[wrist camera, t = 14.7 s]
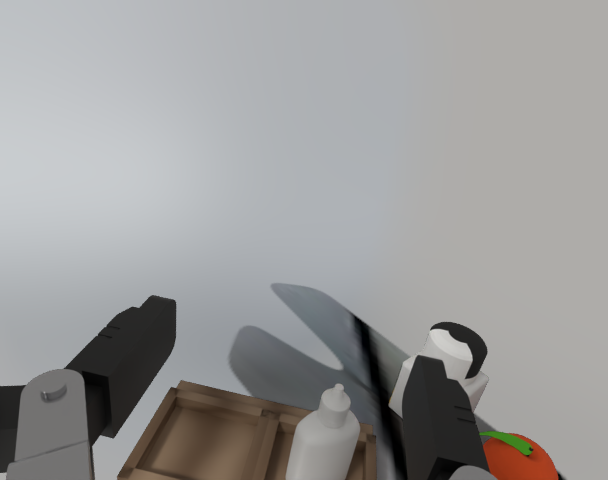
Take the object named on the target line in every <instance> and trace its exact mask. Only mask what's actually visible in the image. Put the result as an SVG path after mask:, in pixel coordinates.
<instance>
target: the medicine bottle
mask: <svg viewBox="0 0 608 480" xmlns="http://www.w3.org/2000/svg"><path fill="white" fill-rule="evenodd" d="M417 355H422V356H427V357H431V358H436V359H440V360H442V361H443V362H444V366H445V370H446V374H447V378H449V379H453V380H457V381H458V382H459V383H460V385H461V386H462V387H463V389H464V390H465V392H466V393H467V394H468V397H469V400H470V404H471V407H472V413H473V412H474V410H475V408H476V406H477V404H478V402H479V400H480V397H481V395H482V393H483V391H484V389H485V387H486V385H487V383H488V381H489V378H488V377H487V376H486V375H485V374H483V373H482V372H481V371H480V368H481V366H482V364H483V362H484V360H485V358H486V355H487V347H486V345H485V343H484V341H483V339H482V338H481V337H480V336H479V335H478V334H477V333H475V332H474V331H472V330H471V329H469V328H467V327H465V326H463V325H460V324H457V323H452V322H441V323H438V324H435V325H434V326H432V328H431V329H430V332H429V335H428V337H427V340H426V343H425V346H424V348H423V350H422V351H420V352H419V353H417V354H415V355H414V356H412V357H410V358H409V359H407V360H406V361H404V362H403V363H402V366H401V369H400V372H399V375H398V378H397V381H396V384H395V387H394V390H393V392H392V395H391V398H390V401H389V407H390V408H391V409H392V410H393V411H394V412H396V413H397V414H398V415H399V416H400V417H401V418H402V419H403V417H402V398H403V393H404V389H405V386H406V383H407V380H408V378H409V375H410V372H411V369H412V367H413V364H414V361H415V358H416V357H417Z"/></svg>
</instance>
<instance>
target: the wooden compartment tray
mask: <svg viewBox="0 0 608 480" xmlns="http://www.w3.org/2000/svg"><path fill="white" fill-rule="evenodd" d="M312 412H313V411H309V410H305V409H301V408H296V407H292V406H288V405H284V404H280V403H275V402H271V401H267V400H263V399H258V398H254V397H250V396H246V395H241V394H237V393H233V392H229V391H224V390H220V389H216V388H212V387H208V386H203V385H199V384H195V383H191V382H186V381H182V380H181V381H180V383H179V384H178V386H177V388H173V387H171V388H170V390H169V391H168V393H167V395H166V396H165V398H164V400H163V401H162V403H161V405H160V406H159V408H158V410H157V411H156V413H155V414H154V416H153V418H152V419H151V421H150V423H149V424H148V426H147V428H146V429H145V431H144V433H143V434H142V436H141V438H140V439H139V441H138V443H137V444H136V446H135V448H134V449H133V451H132V453H131V454H130V456H129V457H128V459H127V461H126V462H125V464H124V466H123V467H122V469H121V471H120V472H119V474H118V476H117V480H286V477H285V476H286V471H287V466H288V461H289V457H290V452H291V447H292V443H293V438H294V434H295V430H296V427H297V425H298V423H299V422H300V421H301V420H302V419H303V418H305V417H306V416H307V415H309V414H310V413H312ZM359 425H360V433H359V437H358V440H357V443H356V447H355V450H354V453H353V457H352V460H351V463H350V466H349V469H348V473H347V476H346V479H345V480H377V474H376V436H375V435H373V425H368V424H364V423H360V422H359Z"/></svg>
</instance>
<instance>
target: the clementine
mask: <svg viewBox="0 0 608 480" xmlns="http://www.w3.org/2000/svg"><path fill="white" fill-rule="evenodd" d="M479 435H487V436H491V437H492V438H490V439H489V440H487V441H486V443H485V444H484V445H483V449H484V452H485V456H486V459H487V463H488V466H489V470H490V473H491V474H492V475H493V476H494V477H495V478H497V479H498V480H558V474H557V471H556V469H555V466H554V464H553V462H552V460H551V458H550V457H549V455H548V454H547V453H546V452H545V451H544V449H542V448H541V447H540V446H539V445H538V444H537V443H535V442H533V441H532V440H531V439H528V438H526V437H524V436H522V435H518V434H512V433H503V432H495V431H487V432H482V433H479Z"/></svg>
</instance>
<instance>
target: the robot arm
mask: <svg viewBox="0 0 608 480" xmlns="http://www.w3.org/2000/svg"><path fill="white" fill-rule="evenodd" d="M175 339H176V302H175V300H173V299H168V298H163V297H159V296H154V295H152V296H150V297H149V298H148V299H147V300H146V301H145V302H144V303H143V304H142V306H141V307H140V308H136V307H131V308H129V309H127V310H125V311H123V312H121V313H119V314H118V315H116V316H115V317H114V318H113V319H112V320H111V321H110V322H109V323H108V324H107V327H105V328H104V329H102V330H101V332H100V333H99V334H98V336H96V337H95V338H94V339H93V340H92V341H91V342H90V343H89V344H88V345H87V346H86V347H85V348H84V349H83V350H82V351H81V352H80V353H79V354H78V355H77V356H76V357H75V358H74V359H73V360H72V361H71V362H70V363H69V364H68V365H67V366H66V367H65V368H64V369H58V370H52V371H49V372H46V373H43V374H42V375H39V376H37V377H36V378H34V379H33V380H31V381H30V382H29V383H28V384H27V385H23V386H0V473H5V472H7V476H6V480H95V474H94V462H93V449H92V446H93V444H94V443H95V441H96V440H97V439H98V437H99V436H100V435H102V436H106V437H110V438H114V437H115V436H116V434H117V433H118V431H119V430H120V428H121V427H122V425H123V424H124V422H125V421H126V419H127V418H128V417H129V415H130V414H131V412H132V411H133V409H134V408H135V406H136V405H137V403H138V401H139V400H140V399H141V397H142V396H143V394H144V393H145V391H146V390H147V388H148V387H149V385H150V384H151V382H152V381H153V379H154V378H155V376H156V375H157V373H158V372H159V370H160V369H161V367H162V366H163V365H164V363H165V362H166V360H167V359H168V357H169V356H170V354H171V352H172V349H173V347H174V344H175ZM402 417H403V429H404V440H405V451H406V462H407V473H408V480H498V479H497V478H495V477H494V476H493V475H492V474H491V473H490V470H489V466H488V463H487V459H486V456H485V452H484V449H483V445H482V442H481V438H480V435H479V431H478V428H477V425H476V424H475V423H476V421H475V418H474V414H473V413H472V407H471V404H470V400H469V397H468V394H467V393H466V392H465V390H464V389H463V387H462V386H461V385H460V383H459V382H458V381H457V380H453V379H449V378H447V374H446V370H445V366H444V362H443V361H442V360H440V359H436V358H431V357H427V356H422V355H417V357H416V358H415V361H414V364H413V367H412V369H411V372H410V375H409V378H408V380H407V383H406V386H405V389H404V393H403V398H402Z"/></svg>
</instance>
